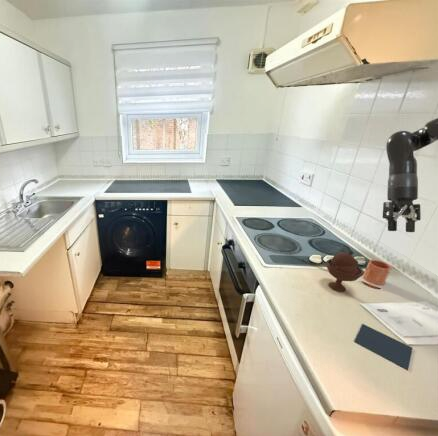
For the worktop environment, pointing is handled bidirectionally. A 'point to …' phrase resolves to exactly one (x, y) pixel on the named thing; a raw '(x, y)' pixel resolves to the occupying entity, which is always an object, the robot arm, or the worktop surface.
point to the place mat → (384, 346)
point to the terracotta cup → (376, 273)
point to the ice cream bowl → (343, 270)
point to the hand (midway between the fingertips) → (401, 231)
